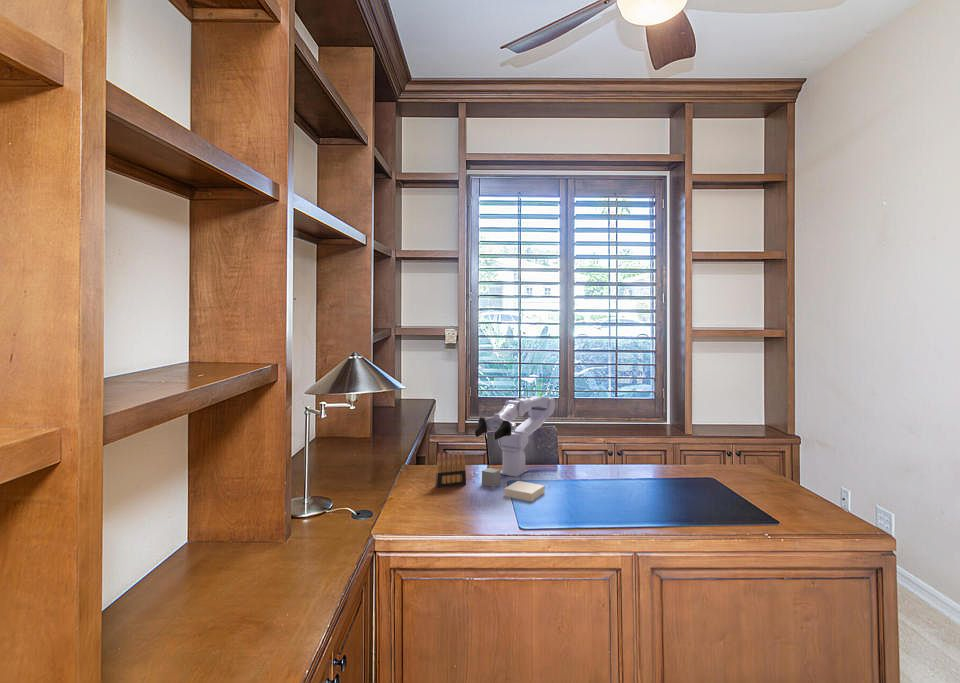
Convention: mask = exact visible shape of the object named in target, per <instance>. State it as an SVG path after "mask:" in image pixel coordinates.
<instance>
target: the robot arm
mask: <svg viewBox="0 0 960 683" xmlns="http://www.w3.org/2000/svg"><path fill="white" fill-rule="evenodd" d="M555 409H556V400H555V398H554V397H546V396H536V395H531V396H530V397H527V396H525V395H523V396H521V397H519V398H518V397H517V398H515V399H514V400H511V399H510V400H505V402H504V405H503V407H502V409H501V410H500V411H498V412H497V413H494V414H493V416H491V417H487V418H485V417H480V418H478V421H477V427H476V429H475V430H474V434H475V437H477V438H478V437H480V436H481V435H482V434H487V433H488V429H490V430H492V431H493V432H494V439H495V440H497V443H498V446H499V447H500V450H502V466H501V467H502V469H501V471H500V475H505V476H511V477H514V478H515V477H520V476H522V474H524V473H526V472H528V469H526V452H525V450H524V449H526V447H527V444H529V436H530V435H532V434H533V433H534V432H535V431H537V430H538V429H539V428H540V427H541V426H542V425H543V424H544V423H545V422H546V420H547V419H548V418H549V417H551V416H552V415H553V414H554V413H555ZM527 412H528V413H527ZM526 413H527V415H528V416H529V417H528V418H527V419H525V420H524V421H523V422H521V423H520V424H519V425H518V426H517V423H514V422H513V421H514V420H515V419H516V418H517V417H524V415H525V414H526Z"/></svg>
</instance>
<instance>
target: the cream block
mask: <svg viewBox="0 0 960 683" xmlns="http://www.w3.org/2000/svg"><path fill="white" fill-rule="evenodd" d="M545 487H546V486H545V485H543V484H538V483H537V484H536V483H532V482H527V481H526V482H525V481H521V480H517V481H515V482H513V483H512V484H510V485H508V486H506V487H504V489H503V496H504V497H506V498H507V497H508V498H512V499H516V500H522V501H527V502H533V501H535V500H536V499H538V498H539V497H541V496H543V495H544V494H545Z"/></svg>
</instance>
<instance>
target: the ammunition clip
mask: <svg viewBox="0 0 960 683" xmlns="http://www.w3.org/2000/svg"><path fill="white" fill-rule="evenodd" d="M436 457H437V459H436V460H437V462H436V472H435V486H434V487H436V488H438V489H441V488H448V487H457V486H466V485H467V475H466V474H467V473H466V472H467V471H466V459H465V457H466V455H465V451H464V450H462V452H461V455H460V451H459V450H458V451H457V452H456V454H455V451H452V453H450V451H448V452H447V456H446V453H445V452H444V451H443V453H442V457H441V453H440V452H438V453H437V456H436Z"/></svg>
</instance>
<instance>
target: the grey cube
mask: <svg viewBox="0 0 960 683" xmlns="http://www.w3.org/2000/svg"><path fill="white" fill-rule="evenodd" d="M500 471H502V469H498V468H494V467H486V468H485V469H482V470H481V485H482V486H487V487H492V488H495V487H496V486H499V485H500V484H501V474H500Z"/></svg>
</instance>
